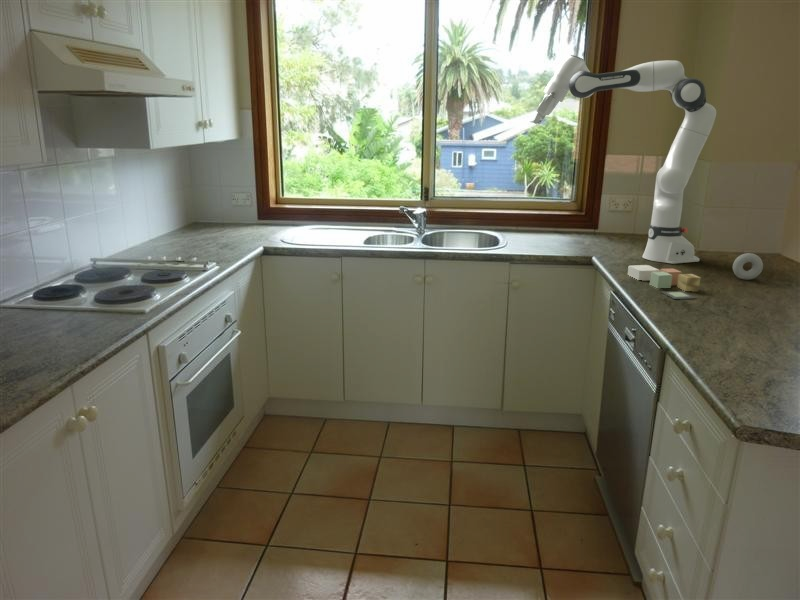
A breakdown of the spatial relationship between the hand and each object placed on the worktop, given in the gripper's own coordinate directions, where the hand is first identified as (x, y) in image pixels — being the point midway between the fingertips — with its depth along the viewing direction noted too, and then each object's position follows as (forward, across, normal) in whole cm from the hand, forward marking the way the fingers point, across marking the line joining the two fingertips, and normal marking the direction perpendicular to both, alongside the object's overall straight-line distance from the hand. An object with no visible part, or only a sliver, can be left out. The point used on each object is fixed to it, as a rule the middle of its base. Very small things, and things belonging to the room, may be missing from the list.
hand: (536, 123), depth 256 cm
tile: (+20, -57, -78) cm, 98 cm away
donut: (+8, -24, -100) cm, 103 cm away
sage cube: (+22, -48, -73) cm, 90 cm away
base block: (+25, -36, -68) cm, 81 cm away
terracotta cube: (+21, -41, -76) cm, 89 cm away
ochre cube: (+18, -47, -81) cm, 95 cm away
